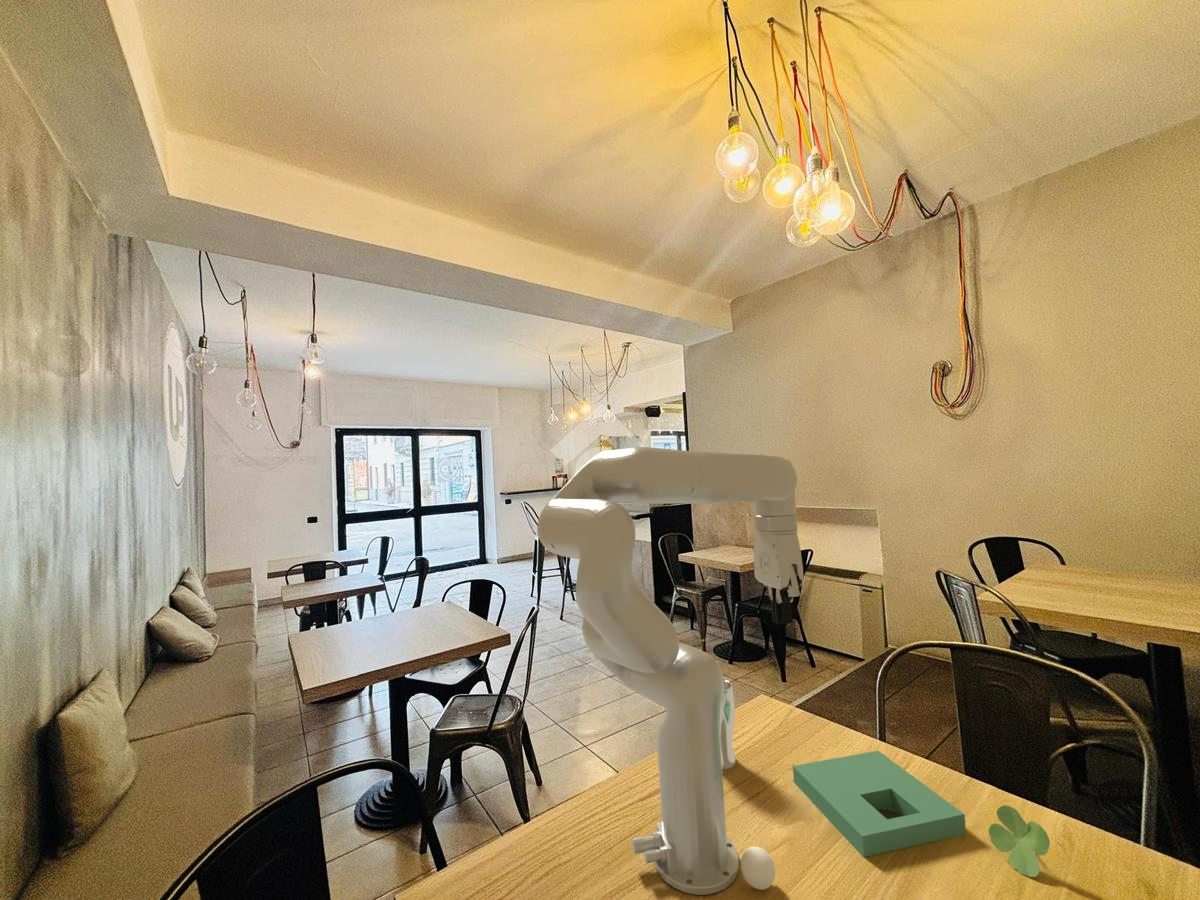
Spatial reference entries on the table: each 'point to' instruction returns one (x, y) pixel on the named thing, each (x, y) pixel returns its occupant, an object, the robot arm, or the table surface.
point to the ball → (758, 868)
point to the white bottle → (727, 726)
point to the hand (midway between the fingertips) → (782, 622)
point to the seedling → (1019, 840)
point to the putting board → (877, 803)
